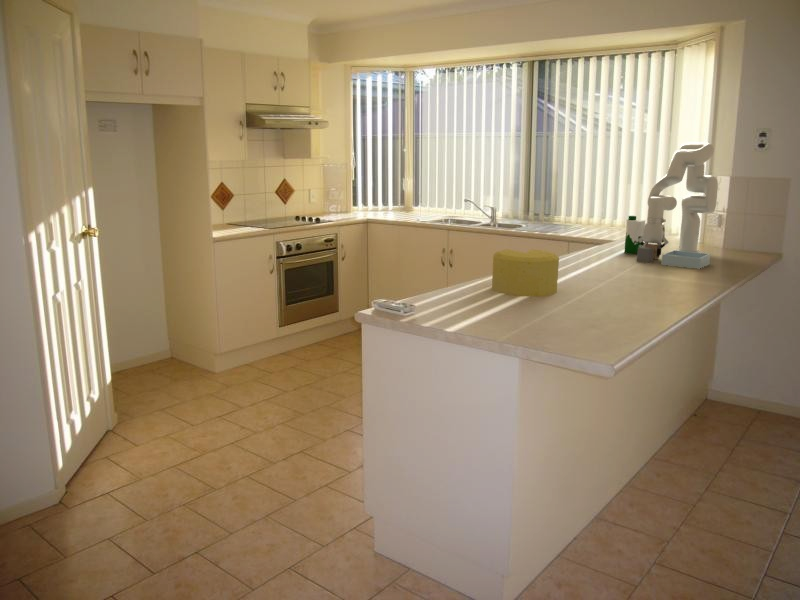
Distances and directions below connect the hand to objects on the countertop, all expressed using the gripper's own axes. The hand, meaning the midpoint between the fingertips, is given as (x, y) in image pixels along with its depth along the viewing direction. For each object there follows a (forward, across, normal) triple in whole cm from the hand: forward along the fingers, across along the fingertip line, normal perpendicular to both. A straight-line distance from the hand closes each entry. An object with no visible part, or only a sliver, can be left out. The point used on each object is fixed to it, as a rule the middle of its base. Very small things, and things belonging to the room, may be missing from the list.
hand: (651, 255), depth 358 cm
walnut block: (+1, 0, 0) cm, 1 cm away
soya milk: (+2, +14, -12) cm, 19 cm away
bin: (+2, -19, +6) cm, 20 cm away
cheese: (0, +14, +114) cm, 114 cm away
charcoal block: (+2, 0, +10) cm, 11 cm away
